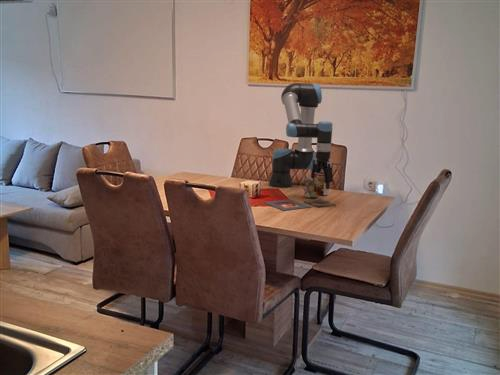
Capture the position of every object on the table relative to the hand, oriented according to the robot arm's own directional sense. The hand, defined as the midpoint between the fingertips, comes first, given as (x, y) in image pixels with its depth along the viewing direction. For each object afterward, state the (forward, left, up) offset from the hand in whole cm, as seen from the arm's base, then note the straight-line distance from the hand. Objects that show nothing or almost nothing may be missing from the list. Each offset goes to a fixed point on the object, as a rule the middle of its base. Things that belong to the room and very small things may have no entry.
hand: (320, 193), depth 252 cm
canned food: (0, 0, -1) cm, 1 cm away
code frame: (-5, -18, -6) cm, 20 cm away
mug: (-17, +6, -7) cm, 19 cm away
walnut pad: (0, 0, -6) cm, 6 cm away
